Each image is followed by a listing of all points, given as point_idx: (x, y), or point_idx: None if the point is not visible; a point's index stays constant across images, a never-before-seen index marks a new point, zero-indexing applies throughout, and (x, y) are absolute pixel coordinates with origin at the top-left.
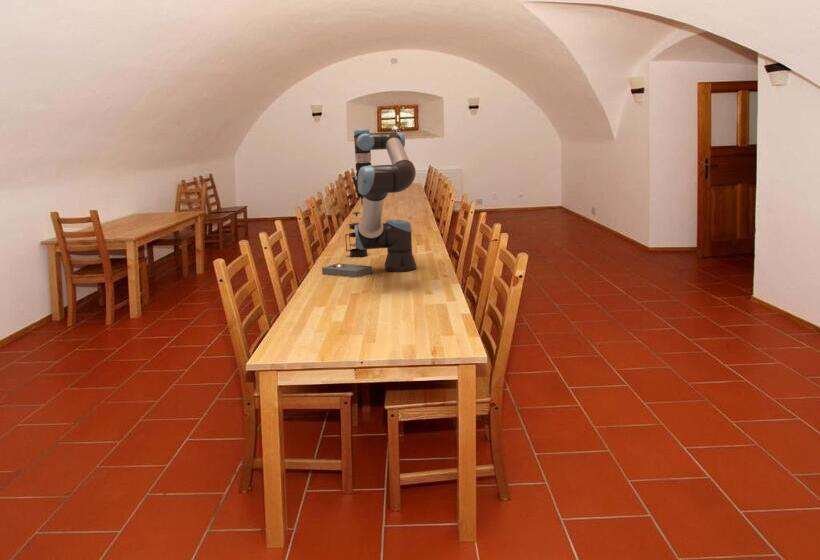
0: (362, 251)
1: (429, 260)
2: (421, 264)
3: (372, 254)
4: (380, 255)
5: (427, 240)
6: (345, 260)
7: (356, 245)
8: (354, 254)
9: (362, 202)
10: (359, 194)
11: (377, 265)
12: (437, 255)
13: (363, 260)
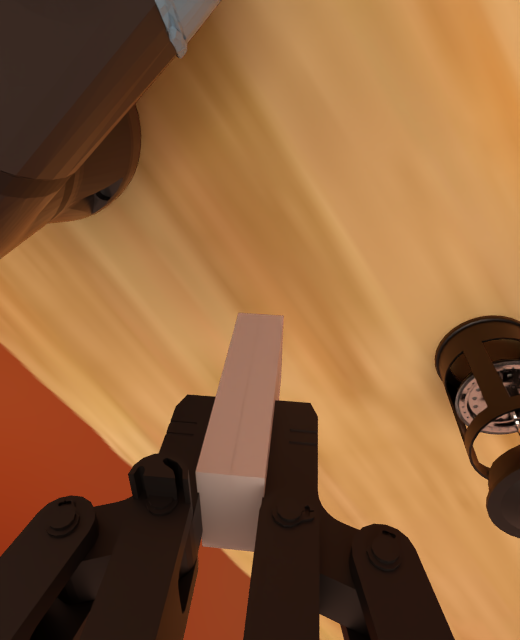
0: (454, 355)
1: (82, 351)
2: (46, 265)
3: (426, 400)
4: (372, 390)
5: (338, 623)
6: (512, 234)
7: (497, 363)
8: (496, 326)
9: (292, 430)
10: (357, 582)
11: (238, 167)
12: (127, 439)
13: (398, 265)
